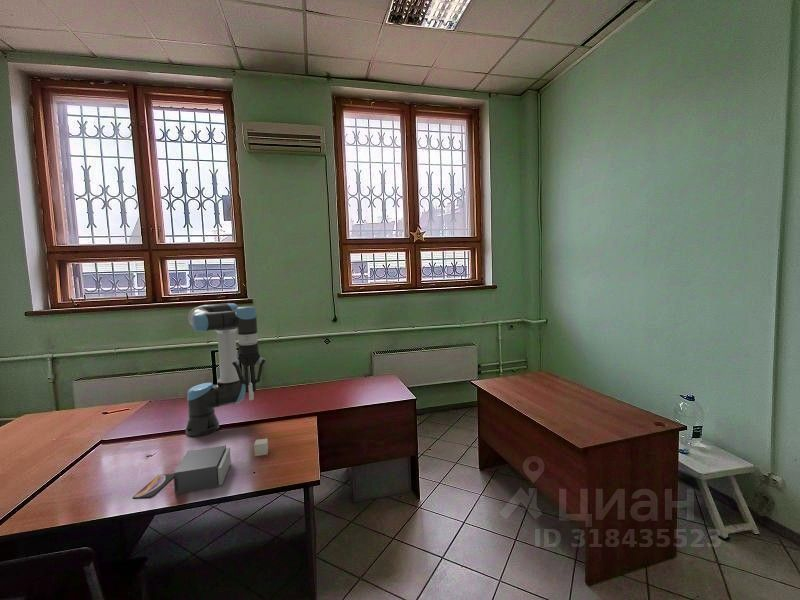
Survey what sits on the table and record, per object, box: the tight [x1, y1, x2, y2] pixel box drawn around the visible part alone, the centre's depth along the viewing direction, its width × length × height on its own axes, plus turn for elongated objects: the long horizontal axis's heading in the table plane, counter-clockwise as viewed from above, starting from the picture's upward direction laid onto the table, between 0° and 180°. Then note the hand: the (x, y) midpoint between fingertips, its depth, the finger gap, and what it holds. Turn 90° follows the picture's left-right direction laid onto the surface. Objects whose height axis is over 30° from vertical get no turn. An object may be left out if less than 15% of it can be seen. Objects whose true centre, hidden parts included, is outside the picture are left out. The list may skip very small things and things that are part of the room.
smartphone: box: [132, 473, 174, 500], centre depth 132 cm, size 8×1×15 cm
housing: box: [172, 444, 227, 495], centre depth 136 cm, size 17×14×8 cm
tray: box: [218, 447, 232, 486], centre depth 136 cm, size 17×14×7 cm
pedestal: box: [253, 438, 269, 457], centre depth 155 cm, size 5×5×5 cm
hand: (251, 399), depth 147 cm, fingers closed
